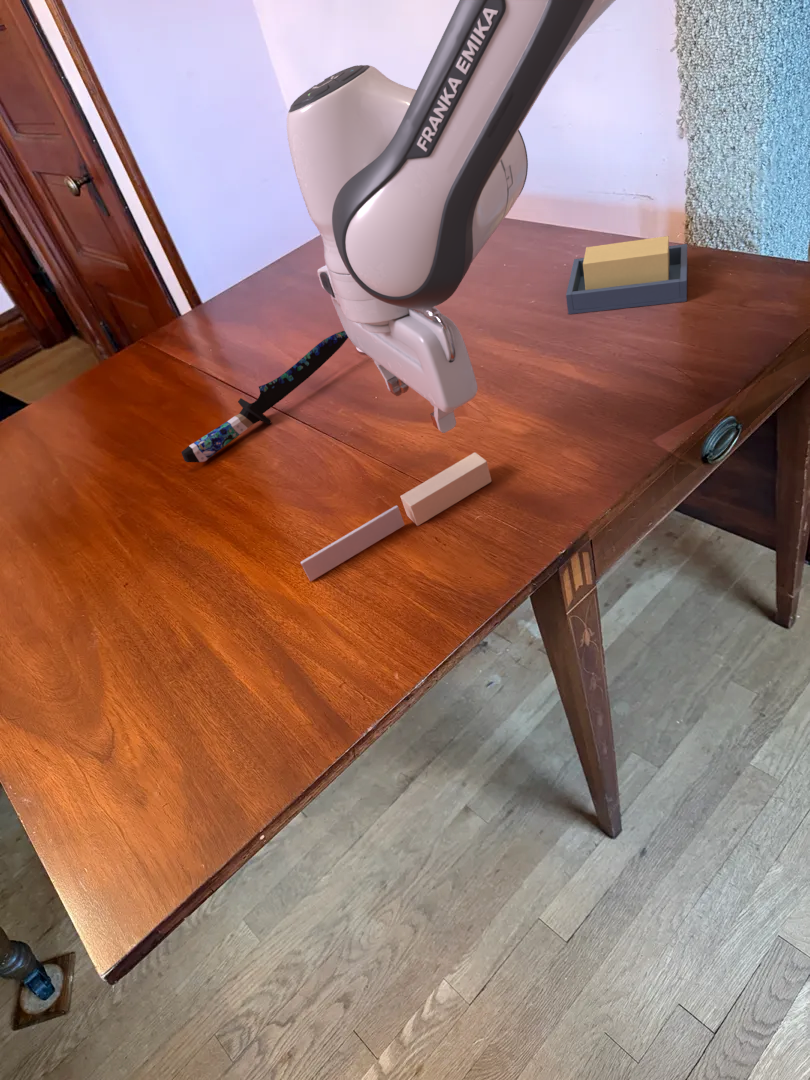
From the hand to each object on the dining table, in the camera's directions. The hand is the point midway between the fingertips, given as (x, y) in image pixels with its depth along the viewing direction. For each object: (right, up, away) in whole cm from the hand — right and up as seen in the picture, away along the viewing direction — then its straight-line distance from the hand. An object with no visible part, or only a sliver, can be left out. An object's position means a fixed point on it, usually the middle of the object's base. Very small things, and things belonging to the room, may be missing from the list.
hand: (421, 408), depth 75 cm
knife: (-19, +6, +31) cm, 37 cm away
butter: (+29, +24, +29) cm, 48 cm away
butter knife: (-2, -12, +7) cm, 14 cm away
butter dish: (+30, +22, +30) cm, 48 cm away
